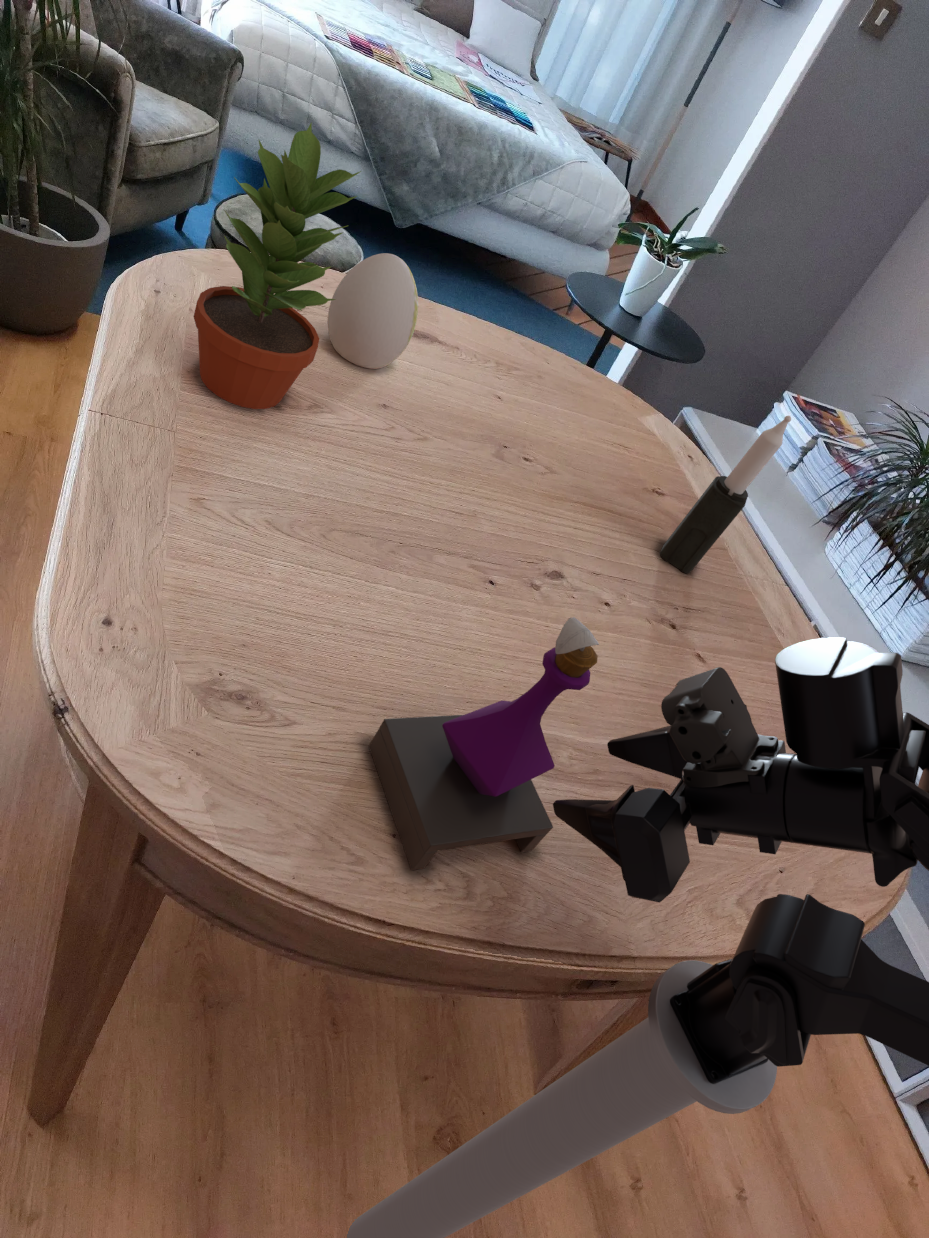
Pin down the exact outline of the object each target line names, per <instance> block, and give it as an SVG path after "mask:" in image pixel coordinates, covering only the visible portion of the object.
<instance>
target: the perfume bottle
mask: <svg viewBox="0 0 929 1238" xmlns="http://www.w3.org/2000/svg"><path fill="white" fill-rule="evenodd" d="M599 645H600V643H599V641H598V640H597V639H596V637H595V635H594V634H593V632H592V631H591V630H590V629H589V628H588V627H587V626H586V625H585V624H583V622H581V620H579V619H578V618H576V617H575V616H573V617H569V618H568V619H567V620H566V621H565V623H564V624H563V625H562V628H561V630H560V632H559V634H558V636H557V638H556V640H555V647H552V648H551V649H549V650H547V651H546V652H545V653H544V654H543V656H542V666H543V668H544V673H543V674H542V676H541V677H540V679H539V680H537V682H536V683H534V685H532V687H531V688H529V689H528V690H527V691H525V692H524V693H523V694H521V695H520V696H518V697H517V698H516V699H514V700H512V701H511V700H503V699H502V700H499V701H496V702H494V703H491V704H488V705H485V706H483V707H481V708H478V709H475V710H473V711H471V712H468V713H465V714H461V715H462V716H460V717H457V718H455V719H452V720H449V721H447V722H445V723H443V725H442V726H443V729H444V732H445V735H446V738H447V741H448V744H449V747H450V750H451V753H452V756H453V758H454V759H455V761H456V762H457V764H458V765H459V766H460V768H461V769H462V770H463V772H464V773H465V775H466V776H467V777H468V779H469V780H470V781H471V783H472V784H473V786H474V787H475V788H476V790H477V791H478V792H479V793H480V794H483V795H489V796H499V795H501V794H503V793H505V792H507V791H509V790H511V789H513V788H515V787H517V786H519V785H521V784H523V783H525V782H527V781H529V780H533V779H535V778H537V777H539V776H542V775H543V774H545V773H547V772H549V771H551V770H553V769H554V768H555V765H556V764H555V763H554V759H553V757H552V755H551V752H550V749H549V747H548V744H547V742H546V739H545V735H544V733H543V728H542V726H541V722H542V717H543V716H544V714H545V712H546V710H547V709H548V707H550V705H551V704H552V702H554V701H555V699H556V698H557V697H558V696H559V695H560V694H562V693H564V691H567V690H572V691H581V690H582V689H584V688H586V687H587V686H588V685H589V684H590V683H591V682H590V681H591V671H590V669H592V667H594V666H595V665H596V664H598V658H599V657H598V654H597V652H596V651H595V649H594V648H593V646H599Z"/></svg>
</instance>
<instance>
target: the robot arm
mask: <svg viewBox="0 0 929 1238" xmlns="http://www.w3.org/2000/svg"><path fill="white" fill-rule="evenodd" d="M774 659H775V660H774V665H775V670H776V678H777V686H778V692H779V700H780V706H781V714H782V720H783V721H782V722H783V727H784V734H785V740H779V738H778V737H777V736H774V735H763V734H759V733H758V732H757V730H756V728H755V725H754V724H753V721H752V716H751V714H750V711H749V709H748V706H747V704H746V703H744V701H743V698H742V697H741V695H740V693H739V692H738V690H737V688H736V686H735V684H734V682H733V681H732V678H731V677H730V675H729V673H728V671H726V669H725V668H723V667H721V666H718V667H715V668H711V669H709V670H706V671H703V672H700V673H697V674H695V675H692V676H689V677H686V678H683V679H679V680H678V681H677V682H676V686H675V687H674V688H673V689H672V691H670V693H668V694H667V695H665V696H664V698H662V700H661V706H660V708H661V709H660V710H661V712H662V716H663V718H664V719H665V722H666V723H667V724H668V725H666V726H664V727H663V726H662V727H661V728H660V727H659V728H656V729H652V730H647V731H643V732H639V733H635V734H629V735H626V736H622V737H617V738H613V739H610V740H609V741H608V742H607V744H606V745H607V746H606V747H607V750H608V753H609V755H611V756H613V757H616V758H618V759H620V760H623V761H625V762H628V763H630V764H634V765H637V766H640V767H642V768H646V769H649V770H652V771H656V772H659V773H661V774H665V775H667V776H670V777H674V778H676V779H679V782H678V783H677V785H676V786H675V787H674V789H673V790H672V791H671V792H670V794H669V792H667V791H666V790H665V789H663V788H655V787H654V788H653V787H646V788H643V789H640V790H637V791H635V786H634V784H632V785H630V786H628V787H627V788H626V789H625V791H624V792H623V793H622V794H620V796H619V797H617V798H616V799H575V798H573V799H571V798H569V799H556V800H554V802H552V807H553V812H554V815H555V816H556V817H557V819H560V820H561V821H562V822H563V823H565V824H566V825H568V826H569V827H570V828H572V829H573V830H574V831H576V832H577V833H579V834H580V835H581V836H582V837H584V838H585V839H587V840H588V841H589V842H591V843H592V844H593V845H594V846H596V847H597V848H598V849H599V850H601V851H602V852H603V853H604V854H605V855H607V857H609V858H610V859H611V860H612V862H614V863H615V864H616V865H617V866H618V867H619V868H620V870H621V875H622V880H623V881H624V883H625V887H626V893H627V896H629V897H631V898H635V899H640V900H645V901H648V902H649V901H650V902H654V903H659V904H660V903H661V902H662V901H664V900H665V899H666V898H667V897H668V896H670V895H671V894H672V892H673V891H674V889H675V887H676V886H677V884H678V882H679V881H680V880H681V877H682V876H683V875H684V872H685V871H686V870H687V868H688V867H689V864H690V862H691V860H690V853H689V849H688V844H687V838H686V837H687V836H686V832H685V831H686V830H687V828H688V826H689V825H690V826H691V827H695V829H696V834H697V839H698V840H697V841H698V844H701V845H706V846H707V845H709V846H714V845H715V844H716V842H717V840H718V838H719V837H720V835H721V834H722V835H723V834H724V835H731V836H737V837H745V838H746V837H747V838H751V839H752V838H753V839H757V842H758V843H757V844H758V850H759V853H763V854H769V855H776V854H777V852H778V850H779V848H780V846H781V844H782V843H789V844H796V845H805V846H812V847H819V848H827V849H834V850H839V851H840V850H841V851H848V852H856V853H861V854H871V857H872V866H873V875H874V882H875V883H876V885H877V886H879V887H881V888H885V887H886V888H887V887H888V886H889V885H890V884H891V883H892V882H894V880H896V878H897V877H899V876H900V875H901V874H902V873H903V872H905V871H906V870H908V869H911V868H914V867H916V866H917V865H918V862H919V863H920V864H921V865H922V867H923V868H924V869H925V870H927V871H928V872H929V724H928V723H927V722H925V721H923V720H922V719H920V718H919V717H917V716H915V715H914V714H912V713H910V712H906V711H905V712H903V711H904V710H903V701H902V691H901V690H902V689H901V684H902V678H903V672H904V671H903V660H902V655H901V654H899V653H898V652H879V651H878V650H877V649H876V648H874V647H873V646H872V645H869V644H867V643H863V642H859V641H853V640H848V639H847V637H843V636H831V637H829V636H828V637H818V638H811V639H807V640H803V641H799V642H795V643H792V644H791V645H789V646H787V647H784V648H783V649H782V650H780V651H779V652H778V653H777V654H776V655H775V658H774ZM785 741H786V743H785ZM786 744H787V746H788V748H789V749H790V750H791V751H793V752H794V753H788V752H787V751H786ZM919 770H921V771H922V772H921V775H920V778H919V781H918V785H917V784H916V781H917V777H918V773H919ZM865 927H866V924H865V922H864V920H862V919H861V918H859V917H857V916H856V915H854V914H852V913H849V912H845V911H842V910H838V909H836V908H833V907H830V906H828V905H826V904H824V903H822V902H820V901H819V900H817V899H816V898H815V897H814V896H812V895H811V894H807V893H806V894H805V896H804V899H803V898H801V897H798V896H793V895H790V894H785V893H778V894H777V895H776V896H772V897H768V898H764V899H763V900H762V901H760V902H758V903H757V904H756V906H755V908H754V910H753V912H752V914H751V916H750V918H749V920H748V923H747V925H746V927H745V930H744V932H743V934H742V936H741V938H740V940H739V943H738V945H737V948H736V950H735V952H734V955H733V957H732V958H729V959H727V960H723V961H719V962H716V963H714V964H712V965H713V966H712V967H710V968H709V969H707V970H706V971H704V972H703V973H702V974H700V975H699V976H697V977H696V978H694V979H693V980H692V981H690V982H689V983H688V984H687V988H688V991H685V992H682V993H679V994H676V995H674V996H673V997H671V998H670V1004H671V1006H672V1008H673V1010H674V1012H675V1014H676V1017H677V1019H678V1021H679V1023H680V1025H681V1027H682V1029H683V1031H684V1033H685V1035H686V1037H687V1039H688V1041H689V1043H690V1045H691V1047H692V1049H693V1051H694V1053H695V1055H696V1057H697V1059H698V1061H699V1063H700V1066H701V1068H702V1070H703V1072H704V1074H705V1076H706V1078H707V1080H708V1081H709V1082H710V1083H711V1084H716V1083H719V1082H721V1081H724V1080H726V1079H728V1078H731V1077H733V1076H736V1075H738V1074H741V1073H743V1072H745V1071H748V1070H750V1069H753V1068H755V1067H757V1066H760V1065H762V1064H764V1063H766V1062H767V1061H768V1059H769V1060H770V1061H771V1062H772V1063H773V1064H774V1065H775V1066H777V1068H778V1067H792V1066H793V1067H795V1066H801V1065H803V1062H804V1059H805V1056H806V1052H807V1050H808V1046H809V1044H810V1043H809V1042H810V1039H811V1036H827V1035H828V1036H829V1035H853V1034H854V1035H856V1034H858V1035H862V1036H864V1037H867V1038H868V1039H872V1040H874V1041H875V1042H878V1043H880V1044H882V1045H884V1046H886V1047H889V1048H890V1049H891V1050H895V1051H897V1052H898V1053H901V1054H903V1055H905V1056H907V1057H909V1058H911V1059H914V1060H916V1061H917V1062H920V1063H922V1064H924V1065H925V1066H927V1067H928V1066H929V981H928V980H925V979H924V978H921V977H918V976H917V975H914V974H911V973H910V972H907V971H905V970H902V969H900V968H898V967H895V966H893V965H891V964H889V963H887V962H886V961H884V960H883V959H881V958H880V957H879V956H878V955H877V953H875V952H874V951H873V950H872V948H871V947H869V946H868V944H867V943H866V942H865V941H864V940H863V939H862V937H863V934H864V931H865ZM675 1000H676V1001H677V1002H678V1004H677V1003H676V1001H675ZM712 1074H713V1075H714V1078H713V1076H712Z"/></svg>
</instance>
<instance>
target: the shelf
mask: <svg viewBox="0 0 929 1238" xmlns="http://www.w3.org/2000/svg"><path fill="white" fill-rule="evenodd" d="M462 715H463V714H451V715H450V714H449V715H434V716H433V715H432V716H416V717H415V716H414V717H395V718H393V717H392V718H384V719H383V720H382V722H381V724H380V725H379V727H378V730H377V731H376V732H375V734H374V736H373V738H372V740H371V741H370V743H369V744H368V748H369V750H370V754H371V757H372V759H373V762H374V763H373V764H374V766H375V768H376V769H375V770H376V772H377V774H378V777H379V780H380V783H381V786H382V789H383V792H384V794H385V797H386V800H387V803H388V806H389V809H390V812H391V815H392V818H393V820H394V823H395V826H396V829H397V832H398V835H399V838H400V840H401V844H402V847H403V850H404V853H405V855H406V858H407V861H408V864H409V866H410V870H411V871H416V870H422V869H425V868H426V867H427V866H428V864H429V863H430V862H431V861H432V859H433V858H434V857H435V855H436V854H437V853H438V852H441V851H448V850H454V849H459V848H467V847H474V846H479V845H480V846H481V845H486V844H492V843H499V842H506V841H513V840H515V842H516V844H517V846H518V848H519V851H520V852H521V853H525V852H531V851H533V850H534V849H535V848H536V847H537V845H539V844H540V843H541V842H542V840H543V839H544V838H545V837H546V836H547V835H548V834H549V833H550V832H551V831H552V830H553V828H554V825H553V823H552V821H551V819H550V817H549V814H548V813H547V811H546V808H545V806H544V804H543V802H542V800H541V797H540V795H539V793H538V790H537V789H536V787H535V785H534V782H533V779H531V780H529V781H527V782H525V783H523V784H521V785H519V786H517V787H515V788H513V789H511V790H509V791H507V792H505V793H503V794H501V795H499V796H489V795H483V794H480V793H479V792H478V791H477V790H476V788H475V787H474V786H473V784H472V783H471V781H470V780H469V779H468V777H467V776H466V775H465V773H464V772H463V770H462V769H461V768H460V766H459V765H458V764H457V762H456V761H455V759H454V758H453V756H452V753H451V750H450V747H449V744H448V741H447V738H446V735H445V732H444V729H443V726H442V725H443V723H445V722H447V721H449V720H452V719H455V718H457V717H460V716H462Z"/></svg>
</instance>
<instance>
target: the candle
mask: <svg viewBox="0 0 929 1238" xmlns="http://www.w3.org/2000/svg"><path fill="white" fill-rule="evenodd" d="M791 421H792V417H791V415H785V416H784V418H783V420H780V422H779V423H777V424H776V425H774V426H773V427H772V428H768V429H766V430H763V431H762V432H761V434H760V435H759V436H758V437H757V439H755V441H754V443H753V444H752V445H751V446H750V447H749V449H748V450H747V452H746V453H745V454H744V455H743V456H742V458H741V459H740V460H739V462H738V463H737V464H736V465H735V467H734V468H733V469H732V470H731V472H730V473H729V474H728V476H726V475H719V476H718V475H717V476H715V478H714V479H713V480H712V481H711V482H710V484H709V485H708V486H707V488H706V489H705V490H704V491H703V493H702V494H701V495H700V497H699V498H698V499H697V500H696V502H695V504H694V505H693V506H692V507H691V509H690V510H689V512H687V514H686V515H685V516H684V518H683V519H682V520H681V522H680V523H679V524H678V525H677V527H676V528H675V529H674V531H673V532H672V533H671V535H670V536H669V537H668V538H667V540H666V541H665V542H664V543H663V546H662V548H661V550H660V552H659V556H660V557H661V558H662V560H664V562H668V563H669V564H671V565H672V566H674V567H675V568H677V569H678V570H680V572H682V573H683V574H687V575H688V574H691V572H692V571H693V570H694V569H695V567H696V566H697V565H698V564H699V562H700V561H701V560H702V559H703V558H704V557H705V556H706V554H707V553H708V552H709V550H710V549H711V548H712V547H713V545H714V544H715V543H716V542H717V541H718V539H719V538H720V537H721V536H722V534H723V533H724V532H725V531H726V529H727V528H728V527H729V526H730V525H731V523H732V522H733V521H734V520H735V519H736V517H737V516H739V514H740V513H741V511H742V510H743V509H744V508H745V506H746V503H747V500H748V497H749V493H748V491H747V489H748V488H749V486H750V485H751V483H752V482H753V481H754V480H755V479H756V477H757V476H759V474H760V472H761V471H762V470H763V469H764V468H765V466H766V465H767V464H768V463H769V462H770V460H771V459H772V458H773V456H774V455H775V454H776V453H777V452H778V450H779V449H780V448H781V447H782V445H783V441H784V440H783V438H784V434H785V431H786V430H787V429H786V428H787V427H788V424H789V423H790V422H791Z"/></svg>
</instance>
